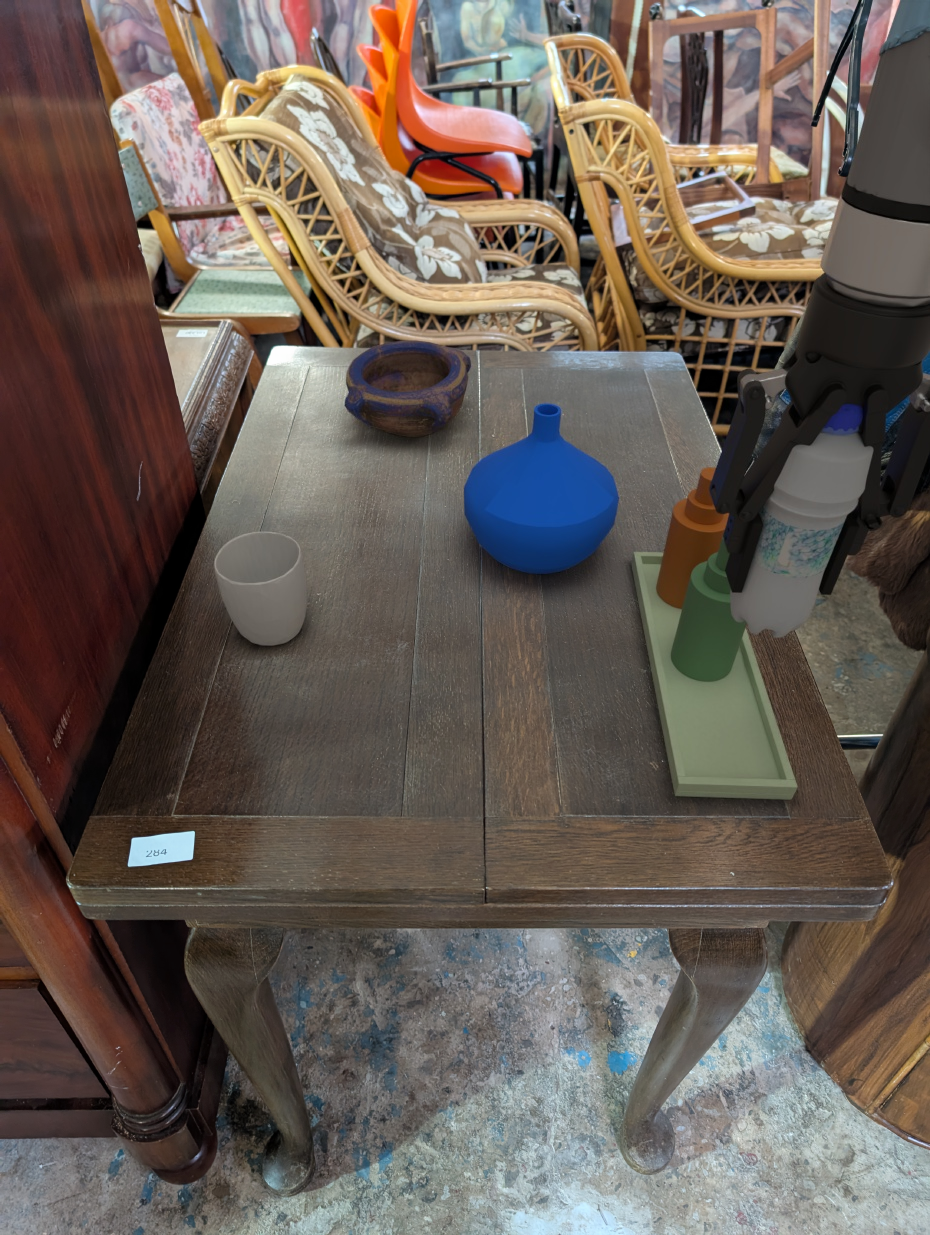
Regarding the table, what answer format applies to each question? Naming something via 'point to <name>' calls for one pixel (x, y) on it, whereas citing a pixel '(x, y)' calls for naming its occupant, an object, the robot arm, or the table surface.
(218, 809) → the table surface
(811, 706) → the table surface
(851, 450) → the bottle
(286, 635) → the mug
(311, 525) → the table surface
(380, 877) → the table surface
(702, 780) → the tray
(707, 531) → the amber bottle
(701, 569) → the green bottle
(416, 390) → the bowl
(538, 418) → the vase
